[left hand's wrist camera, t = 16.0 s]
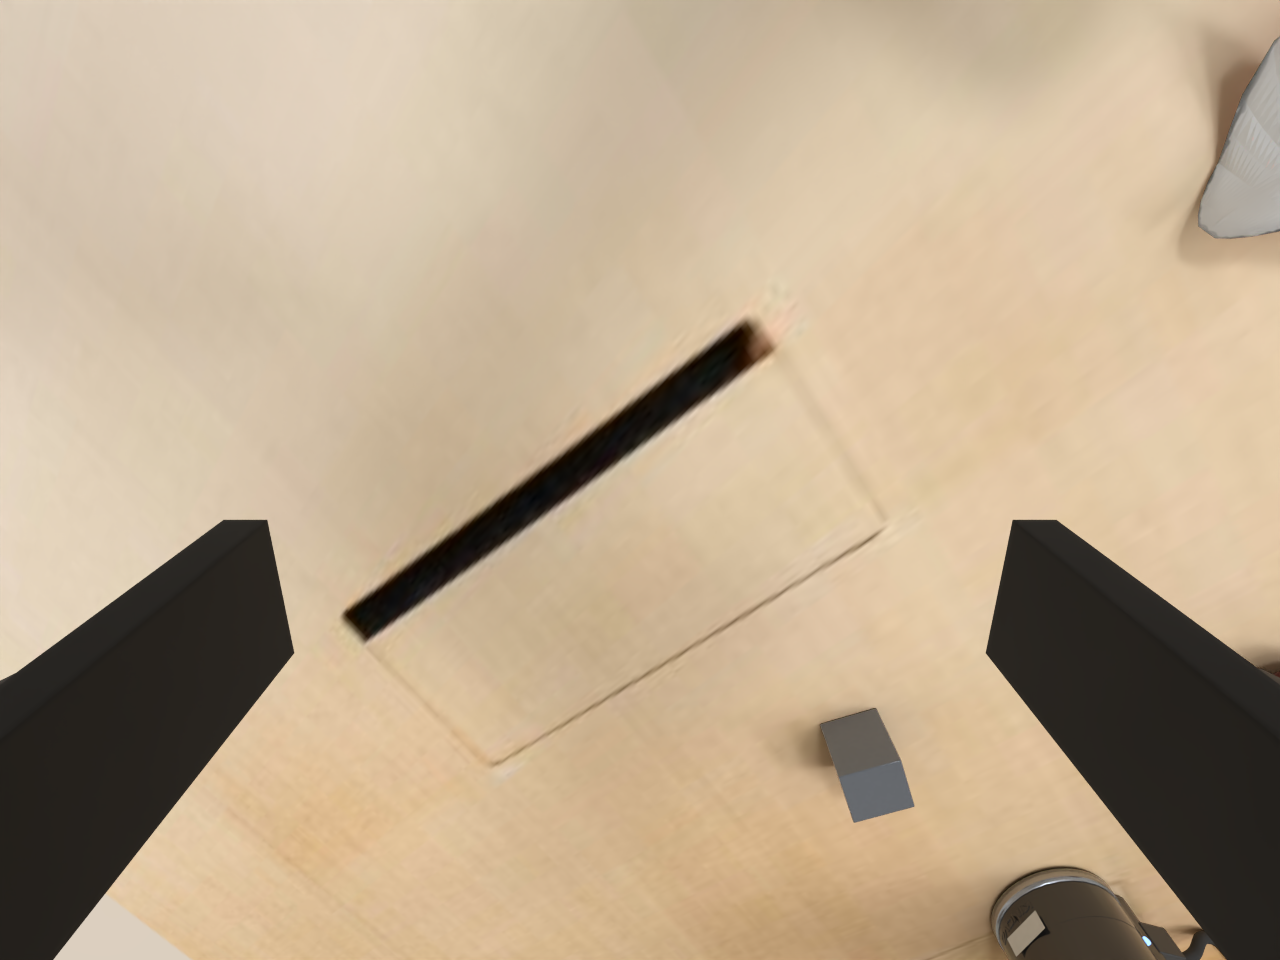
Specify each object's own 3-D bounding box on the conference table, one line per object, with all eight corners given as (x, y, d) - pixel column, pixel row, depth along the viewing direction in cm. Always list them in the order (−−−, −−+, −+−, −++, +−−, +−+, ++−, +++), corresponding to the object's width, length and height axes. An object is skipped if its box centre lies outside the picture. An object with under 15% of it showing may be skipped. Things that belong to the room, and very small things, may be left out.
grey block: (819, 723, 49) (838, 777, 44) (876, 707, 49) (901, 760, 44) (833, 766, 50) (853, 823, 46) (889, 751, 50) (914, 807, 45)
